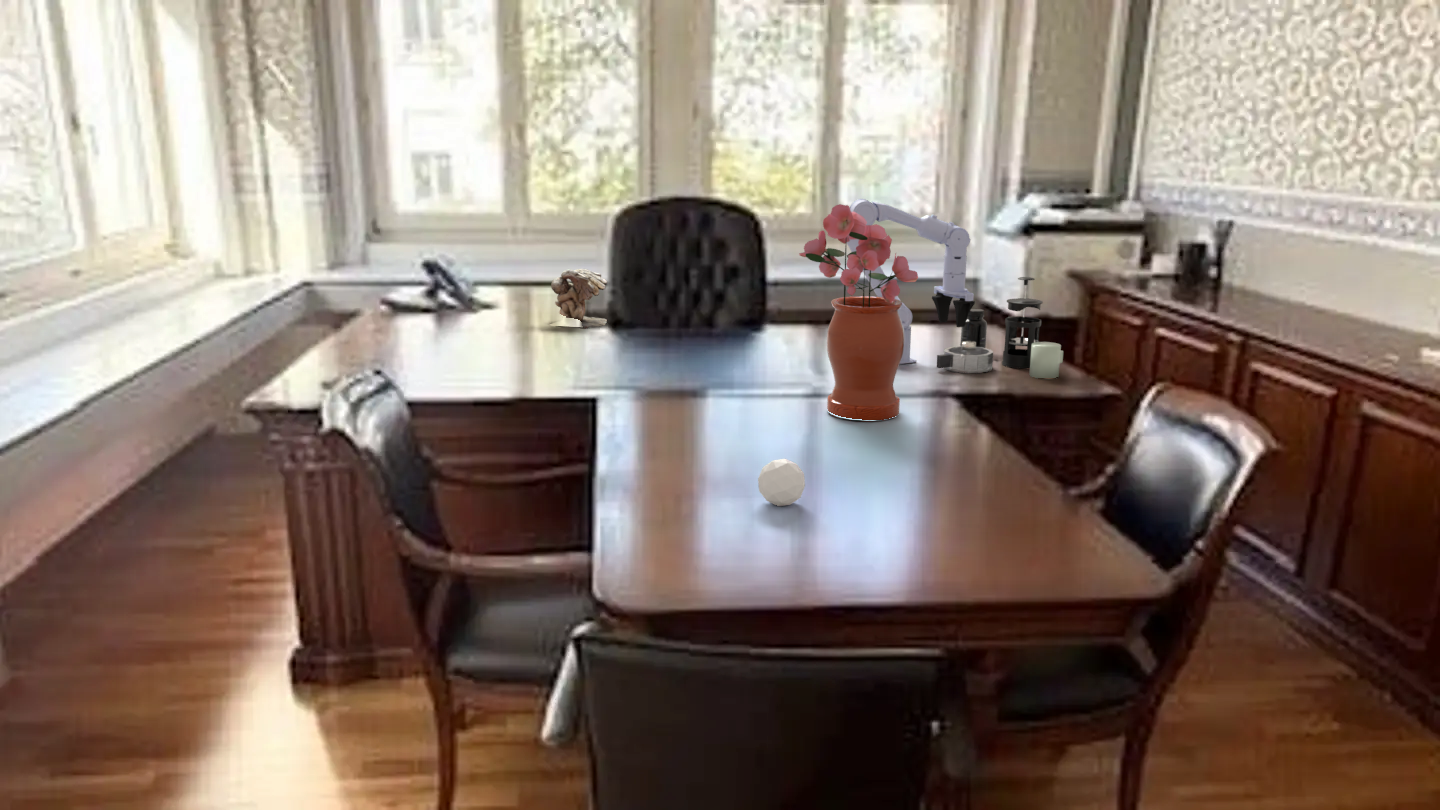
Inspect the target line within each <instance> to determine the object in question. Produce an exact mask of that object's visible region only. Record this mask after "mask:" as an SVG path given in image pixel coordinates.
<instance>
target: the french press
mask: <svg viewBox="0 0 1440 810" xmlns="http://www.w3.org/2000/svg"><path fill="white" fill-rule="evenodd" d="M1017 280H1019V281H1023V286H1024V295H1023V297H1020V298H1019V297H1017V298H1009V299H1007V300H1006V303H1008V304H1007V310H1008V311H1013V312H1021V311H1022V316H1008V317H1006V318H1005V320H1004V321H1005V323H1004V324H1005V332H1004V335H1005V338H1004V349H1003V351H1002V352H1003V353H1002V361H1001V365H1002V366H1004V367H1006V366H1007V368H1010V367H1012V369H1018V370H1019V369H1021V370H1024V369H1027V370H1028V369H1029V370H1030V359H1031V345H1032V343H1034V342H1040V341H1039V340H1040V327H1041V326H1042V319H1039V318H1037V317H1030V316H1025V312H1026V311H1025V310H1026V309H1027V308H1034V309H1038V310H1039V311H1041V307H1042V306H1041V305H1042V304H1043V303H1044V302H1043V300H1040V299H1035V298H1034V299H1033V298H1028V297H1027V296H1026V294H1027V286H1028V285H1029V281H1034V280H1035V278H1034V277H1030V276H1021V277H1017ZM1018 328H1020V329H1021V336H1020V337H1017V335H1018V334H1017V332H1018V331H1017V330H1018ZM1024 329H1028V333H1027V337H1024ZM1018 346H1019V347H1027V348H1016V347H1018Z"/></svg>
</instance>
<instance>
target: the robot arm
mask: <svg viewBox="0 0 1440 810" xmlns="http://www.w3.org/2000/svg"><path fill="white" fill-rule="evenodd" d="M849 208H850V210H851V212H856V213H857V214H859V215H861V216H863V217H864V218H865V220H866V221H867V224H866V225H870V226H871V225H874V223H875V222H876V221H877V222H879V223H881V222H885V221H891V222H893V223H897V224H899V225H902V226H906V227H908V228H911V229H915V230H916V233H917V235H918V237H921V238H924V239H926V240H929V241H932V242H934V243H937V244H940V245H944V256H943V273H942V274H943V275H942V285H936V286H933V288H934V289H933V294H935V295H932V296H931V299H932V301H933V303H934V305H935V308H936V313H937V317H938V322H939V323H948V320H949V312H950V306H951V304H953V306H954V312H955V325H956V327H957V328H961V327H964V326H965V323H966V320H967V317H968V314H969V312H970V310H971V309H973V307H974V305H975V304H976V301H975V300H974V297H975V295H974V294H975V293H974V292H971V291H969V289H968V288H966V274H967V259H968V257H967V252H968V251H967V247H969V245H970V243H971V237H970V234H969V232H968V231H967V229H965V228H963V227H962V226H958V225H957V224H955V222H953V221H949V222H947V221H945V220H942V219H940V218H938V215H935V214H933V213H932V214H931V216H930V214H929V215H928V214H926V215H924V216H922V217H919V216H916V215H913V214H911V213H909V212H907V211H904V210H902V209H899V208H896V207H894V206H891V205H889V204H886V203H882V202H879V201H873V200H872V201H870V200H867V199H866V198H858V199H856V200H854V201H853V202H852V203H851V204H850V205H849ZM848 237H849V236H848ZM849 240H850V241H849V242H847V243H846V246H848V247H847V248H849V250H850V253H851V252H854V251H856V247H857V246H859V244H858V241H859V239H852V240H851V239H849ZM862 273H864V268H863V272H862ZM869 273H870V270H865V277H866V280H867V281H868V282H869V279H870V277H869V276H868V274H869ZM871 273H880V274H884V275H886V274H885V272H884V271H883V268H882V267H881V266H879V267H878V268H876V269H875V270H874V271H871ZM887 280H888V279H885V280H884V281H883V280H882V281H883V282H882V281H880V280H877V279H873V278H871V285H870V287H871V288H872V289H874V288H876V287H877V286H878V285H879V284H880V283H881V282H882V283H884V282H885V281H887ZM882 283H881V284H882ZM886 283H887V282H886ZM886 283H884V284H883V285H881V286H879V287H881V288H882V287H883V286H884V285H885V284H886ZM874 285H875V286H874ZM881 288H876V289H874V290H873V291H874V293H875V295H876V297H883V296H882V293H881ZM953 298H955V300H953ZM895 299H897V300H900V301H901V299H900V297H899V295H898V296H895ZM956 299H957V300H956ZM901 302H902V301H901ZM898 314H899V317H900V320H901V322H902V326H903V329H904V349H903V354H902V358H901V361H900V364H899V365H902V364H910V363H916V362H917V360H916V359H914V358H911V340H912V339H911V338H912V326H911V324H912V322H913V313H912V311H911V310H910V308H908V306H906V304H905V303H904V302H902V306H901V307H900V309H898Z"/></svg>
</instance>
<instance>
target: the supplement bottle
mask: <svg viewBox="0 0 1440 810" xmlns="http://www.w3.org/2000/svg"><path fill="white" fill-rule="evenodd" d="M984 317H985V310H984V309H981V308H971V310H970V312H969V314H968V317H967V320H966V323H965V326H964V327H960V328H961V329H960V330H961V331H960V342H959V343H960V344H959V346H962V342H963V341H973V342H976V347H983V348H987V330H988V323H987V321H986V320H985V319H984Z"/></svg>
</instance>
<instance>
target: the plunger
mask: <svg viewBox="0 0 1440 810" xmlns="http://www.w3.org/2000/svg"><path fill="white" fill-rule="evenodd" d="M962 350H967V353H966V355H970V353H971V351H973V350H976V342H973V341H963V342H962Z"/></svg>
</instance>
